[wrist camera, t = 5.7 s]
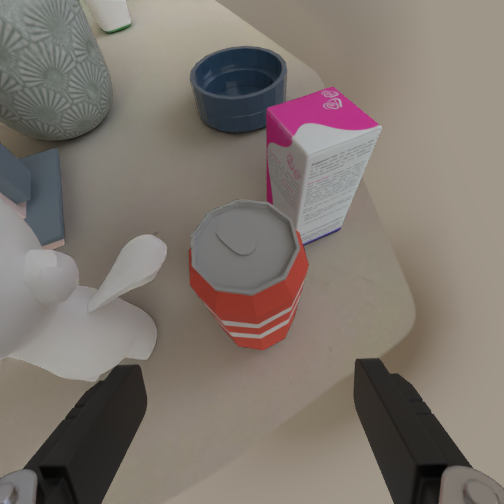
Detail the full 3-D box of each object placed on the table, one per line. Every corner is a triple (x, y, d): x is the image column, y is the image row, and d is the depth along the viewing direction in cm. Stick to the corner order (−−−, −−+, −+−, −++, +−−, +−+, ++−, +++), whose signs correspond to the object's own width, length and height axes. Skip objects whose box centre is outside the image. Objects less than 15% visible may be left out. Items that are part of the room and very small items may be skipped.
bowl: (292, 88, 39) (295, 48, 34) (273, 141, 33) (273, 103, 29) (216, 81, 41) (209, 43, 37) (186, 130, 36) (174, 93, 31)
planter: (35, 179, 33) (-126, 33, 20) (2, 120, 40) (-134, -18, 26) (151, 119, 37) (84, -34, 24) (103, 75, 44) (31, -62, 31)
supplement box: (343, 229, 26) (387, 126, 16) (291, 252, 25) (303, 158, 15) (312, 190, 29) (334, 82, 19) (264, 210, 28) (260, 107, 18)
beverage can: (256, 267, 25) (243, 173, 14) (308, 313, 22) (340, 241, 12) (207, 312, 23) (152, 242, 12) (258, 368, 20) (243, 339, 10)
